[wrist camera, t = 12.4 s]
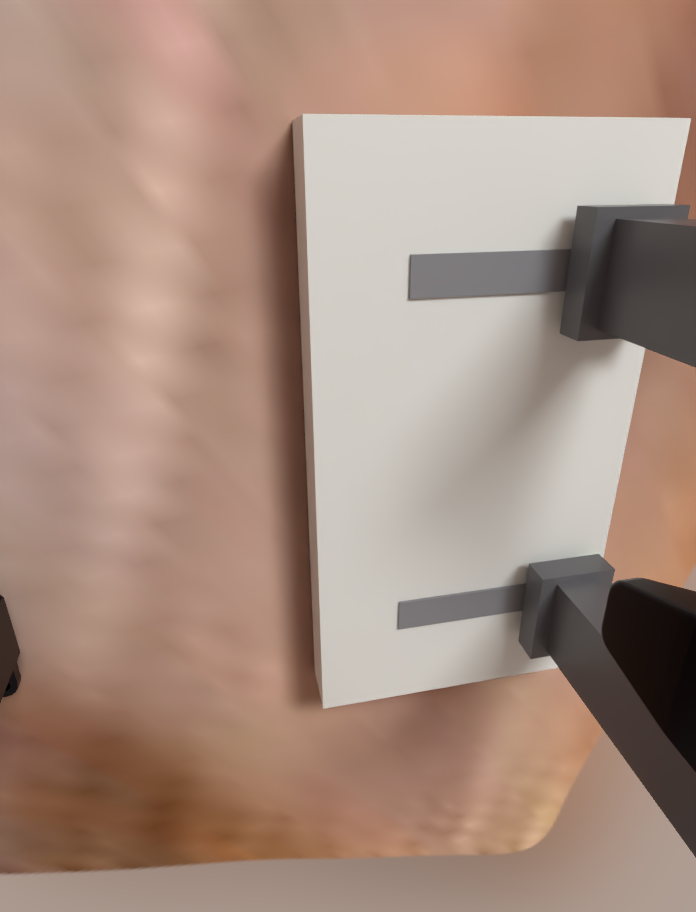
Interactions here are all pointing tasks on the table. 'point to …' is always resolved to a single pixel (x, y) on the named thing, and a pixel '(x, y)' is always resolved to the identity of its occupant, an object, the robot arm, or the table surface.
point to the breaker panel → (454, 380)
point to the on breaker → (633, 278)
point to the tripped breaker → (603, 677)
